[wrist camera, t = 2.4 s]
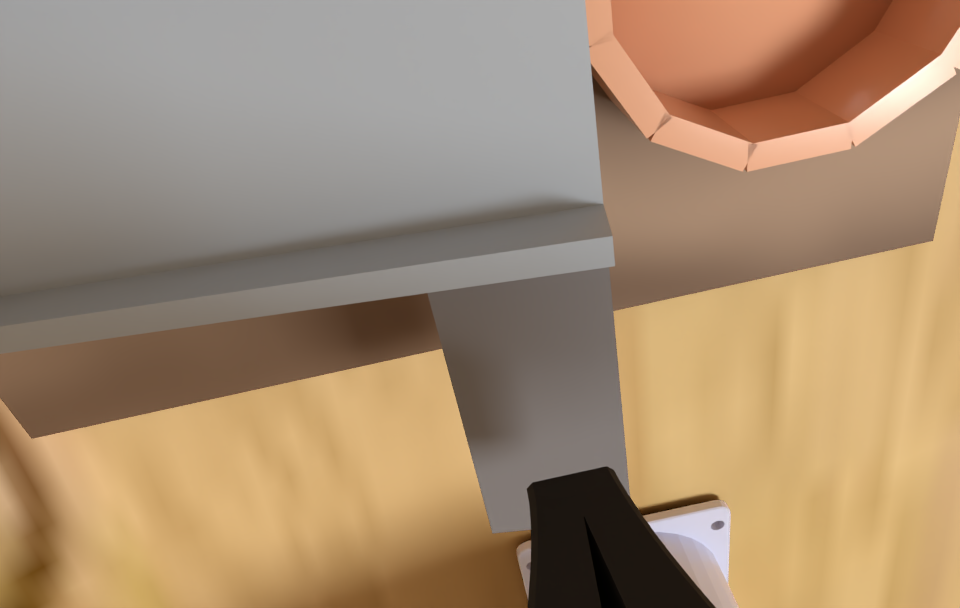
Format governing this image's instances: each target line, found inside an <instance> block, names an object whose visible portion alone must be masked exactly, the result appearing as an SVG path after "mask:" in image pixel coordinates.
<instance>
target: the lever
mask: <svg viewBox="0 0 960 608" xmlns="http://www.w3.org/2000/svg"><path fill="white" fill-rule="evenodd" d="M613 266H615V259H614V247H613V236H612V232H611V229H610V225H609V222H608V218H607V215H606V211H605V208H604V204H603V194H602V182H601V171H600V160H599V149H598V138H597V127H596V116H595V105H594V94H593V83H592V72H591V61H590V50H589V39H588V27H587V16H586V5H585V0H0V354H3V353H10V352H17V351H24V350H31V349H38V348H45V347H52V346H59V345H66V344H73V343H80V342H87V341H94V340H101V339H108V338H115V337H122V336H129V335H136V334H143V333H150V332H157V331H164V330H171V329H178V328H185V327H192V326H199V325H206V324H213V323H220V322H227V321H234V320H241V319H248V318H255V317H262V316H269V315H276V314H283V313H290V312H297V311H305V310H312V309H319V308H326V307H333V306H340V305H347V304H354V303H361V302H368V301H375V300H382V299H389V298H396V297H403V296H410V295H417V294H424V293H427V294H428V297H429V301H430V305H431V308H432V312H433V316H434V319H435V323H436V327H437V331H438V334H439V338H440V342H441V345H442V349H443V353H444V356H445V360H446V364H447V367H448V371H449V375H450V378H451V382H452V386H453V389H454V393H455V397H456V401H457V404H458V408H459V412H460V415H461V419H462V423H463V426H464V430H465V434H466V437H467V441H468V445H469V448H470V452H471V456H472V459H473V463H474V467H475V470H476V474H477V478H478V482H479V485H480V489H481V493H482V496H483V500H484V504H485V507H486V511H487V515H488V518H489V522H490V526H491V529H492V533H502V532H512V531H523V530H531V519H530V507H529V499H528V494H527V488H528V487H529V486H530V485H531V484H532V482H537V481H541V480H546V479H550V478H555V477H559V476H564V475H569V474H573V473H578V472H582V471H587V470H591V469H596V468H601V467H605V466H607V467H609V468H611V469H613V470H614V471H615V473H616V475H617V477H618V478H619V480H620V482H621V483H622V485H623V487H624V488H625V490H626V492H627V493H628V495H629V496H630V493H629V482H628V470H627V459H626V448H625V437H624V426H623V415H622V404H621V393H620V382H619V371H618V360H617V349H616V338H615V326H614V315H613V304H612V293H611V282H610V271H609V267H613Z"/></svg>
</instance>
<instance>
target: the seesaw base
mask: <svg viewBox="0 0 960 608" xmlns="http://www.w3.org/2000/svg"><path fill="white" fill-rule="evenodd" d="M954 69H955V72H956V75H954V76H953V77H952V78H950V79H949V80H948V81H946V82H945V83H943V84H942V85H941V86H939V87H938V88H936V89H935V90H934V91H932V92H931V93H929V94H928V95H927V96H925V97H924V98H923V99H921V100H920V101H918V102H917V103H916V104H914V105H913V106H911V107H910V108H909V109H907V110H906V111H905V112H903V113H902V114H900V115H899V116H898V117H896V118H895V119H893V120H892V121H891V122H889V123H888V124H887V125H885V126H884V127H882V128H881V129H880V130H878V131H877V132H875V133H874V134H873V135H871V136H870V137H869V138H867V139H866V140H864V141H863V142H862V143H860V144H859V145H857V146H856V147H855V146H853V145H852V144H851V149H849V150H844V151H840V152H835V153H831V154H826V155H822V156H817V157H812V158H808V159H803V160H799V161H794V162H790V163H785V164H781V165H776V166H772V167H767V168H762V169H758V170H753V171H749V172H747V171H746V170H743V172H742V171H739V170H736V169H733V168H730V167H727V166H724V165H721V164H718V163H715V162H712V161H709V160H706V159H702V158H699V157H696V156H693V155H690V154H687V153H684V152H681V151H678V150H675V149H672V148H669V147H666V146H663V145H660V144H657V143H654V142H651V141H650V140H649V139H648V138H646V137H645V136H644V135H643V134H642V133H641V132H640V131H639V130H638V129H637V128H636V127H635V125H634V124H633V123H632V122H631V121H630V120H629V119H628V118H627V117H626V116H625V115H624V114H623V113H622V112H621V110H620V109H619V108H618V107H617V106H616V105H615V104H614V103H613V102H612V101H611V100H610V98H609V97H608V96H607V94H606V93H605V92H604V90H603V89H602V88H601V86H600V85H599V84H598V82H597V81H596V80H595V78H594V77H593V76H592V83H593V94H594V105H595V116H596V127H597V138H598V149H599V160H600V171H601V182H602V194H603V204H604V208H605V211H606V215H607V218H608V222H609V225H610V229H611V232H612V236H613V247H614V259H615V266H613V267H609V271H610V282H611V293H612V304H613V311H615V310H620V309H624V308H629V307H633V306H638V305H643V304H647V303H652V302H656V301H661V300H665V299H670V298H674V297H679V296H683V295H688V294H693V293H697V292H702V291H706V290H711V289H715V288H720V287H724V286H729V285H734V284H738V283H743V282H747V281H752V280H756V279H761V278H765V277H770V276H775V275H779V274H784V273H788V272H793V271H797V270H802V269H806V268H811V267H816V266H820V265H825V264H829V263H834V262H838V261H843V260H847V259H852V258H856V257H861V256H866V255H870V254H875V253H879V252H884V251H888V250H893V249H897V248H902V247H907V246H911V245H916V244H920V243H925V242H929V241H933V238H934V233H935V229H936V224H937V220H938V215H939V210H940V206H941V201H942V196H943V192H944V187H945V182H946V178H947V173H948V168H949V164H950V159H951V154H952V150H953V145H954V140H955V136H956V131H957V126H958V122H959V117H960V69H957V68H955V67H954ZM438 349H442V345H441V342H440V338H439V334H438V331H437V327H436V323H435V319H434V316H433V312H432V308H431V305H430V301H429V297H428V294H427V293H424V294H417V295H410V296H403V297H396V298H389V299H382V300H375V301H368V302H361V303H354V304H347V305H340V306H333V307H326V308H319V309H312V310H305V311H297V312H290V313H283V314H276V315H269V316H262V317H255V318H248V319H241V320H234V321H227V322H220V323H213V324H206V325H199V326H192V327H185V328H178V329H171V330H164V331H157V332H150V333H143V334H136V335H129V336H122V337H115V338H108V339H101V340H94V341H87V342H80V343H73V344H66V345H59V346H52V347H45V348H38V349H31V350H24V351H17V352H10V353H3V354H0V398H1V399H2V401H3V402H4V403H5V405H6V406H7V407H8V409H9V410H10V411H11V412H12V414H13V415H14V416H15V418H16V419H17V420H18V421H19V423H20V424H21V425H22V427H23V428H24V429H25V431H26V432H27V433H28V434H29V436H30V437H31V438H37V437H42V436H46V435H51V434H55V433H60V432H64V431H69V430H73V429H78V428H82V427H87V426H92V425H96V424H101V423H105V422H110V421H114V420H119V419H123V418H128V417H133V416H137V415H142V414H146V413H151V412H155V411H160V410H164V409H169V408H174V407H178V406H183V405H187V404H192V403H196V402H201V401H205V400H210V399H215V398H219V397H224V396H228V395H233V394H237V393H242V392H246V391H251V390H256V389H260V388H265V387H269V386H274V385H278V384H283V383H287V382H292V381H296V380H301V379H306V378H310V377H315V376H319V375H324V374H328V373H333V372H337V371H342V370H347V369H351V368H356V367H360V366H365V365H369V364H374V363H378V362H383V361H388V360H392V359H397V358H401V357H406V356H410V355H415V354H419V353H424V352H429V351H433V350H438Z"/></svg>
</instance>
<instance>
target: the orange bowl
mask: <svg viewBox="0 0 960 608" xmlns="http://www.w3.org/2000/svg"><path fill="white" fill-rule="evenodd" d="M585 5H586V16H587V27H588V39H589V50H590V61H591V72H592V76H593V77H594V78H595V80H596V81H597V82H598V84H599V85H600V86H601V88H602V89H603V90H604V92H605V93H606V94H607V96H608V97H609V98H610V100H611V101H612V102H613V103H614V104H615V105H616V106H617V107H618V108H619V109H620V110H621V112H622V113H623V114H624V115H625V116H626V117H627V118H628V119H629V120H630V121H631V122H632V123H633V124H634V125H635V127H636V128H637V129H638V130H639V131H640V132H641V133H642V134H643V135H644V136H645V137H646V138H648V139H649V140H650V141H651V142H654V143H657V144H660V145H663V146H666V147H669V148H672V149H675V150H678V151H681V152H684V153H687V154H690V155H693V156H696V157H699V158H702V159H706V160H709V161H712V162H715V163H718V164H721V165H724V166H727V167H730V168H733V169H736V170H739V171H742V172H743V170H746V171H747V172H749V171H753V170H758V169H762V168H767V167H772V166H776V165H781V164H785V163H790V162H794V161H799V160H803V159H808V158H812V157H817V156H822V155H826V154H831V153H835V152H840V151H844V150H849V149H851V144H852V145H853V146H855V147H856V146H857V145H859V144H860V143H862V142H863V141H864V140H866V139H867V138H869V137H870V136H871V135H873V134H874V133H875V132H877V131H878V130H880V129H881V128H882V127H884V126H885V125H887V124H888V123H889V122H891V121H892V120H893V119H895V118H896V117H898V116H899V115H900V114H902V113H903V112H905V111H906V110H907V109H909V108H910V107H911V106H913V105H914V104H916V103H917V102H918V101H920V100H921V99H923V98H924V97H925V96H927V95H928V94H929V93H931V92H932V91H934V90H935V89H936V88H938V87H939V86H941V85H942V84H943V83H945V82H946V81H948V80H949V79H950V78H952V77H953V76H954V75H956V72H955V69H954V67H955V68H957V69H960V0H585Z"/></svg>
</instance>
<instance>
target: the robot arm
mask: <svg viewBox="0 0 960 608" xmlns="http://www.w3.org/2000/svg"><path fill="white" fill-rule="evenodd" d="M527 494H528V499H529V507H530V519H531V540H530V541H526V542H523V543H522V544H520V545H519V546H518V548H517V558H518V562H519V566H520V570H521V574H522V578H523V582H524V586H525V590H526V594H527V598H528V608H739V606H738V604H737V602H736V600H735V598H734V596H733V594H732V592H731V589H730V587H729V585H728V572H729V543H730V514H731V513H730V509H729V508H728V506H727V504H726V503H725V502H724V501H721V500H713V501H708V502H703V503H699V504H694V505H690V506H685V507H681V508H676V509H671V510H667V511H662V512H658V513H653V514H648V515H644V516H642V514H641V513H640V511H639V510H638V508H637V507H636V505H635V504H634V502H633V501H632V499H631V498H630V496H629V495H628V493H627V492H626V490H625V488H624V487H623V485H622V483H621V482H620V480H619V478H618V477H617V475H616V473H615V471H614V470H613V469H611V468H609V467H607V466H605V467H601V468H596V469H591V470H587V471H582V472H578V473H573V474H569V475H564V476H559V477H555V478H550V479H546V480H541V481H537V482H532V484H531V485H530V486H529V487H528V488H527Z"/></svg>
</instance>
